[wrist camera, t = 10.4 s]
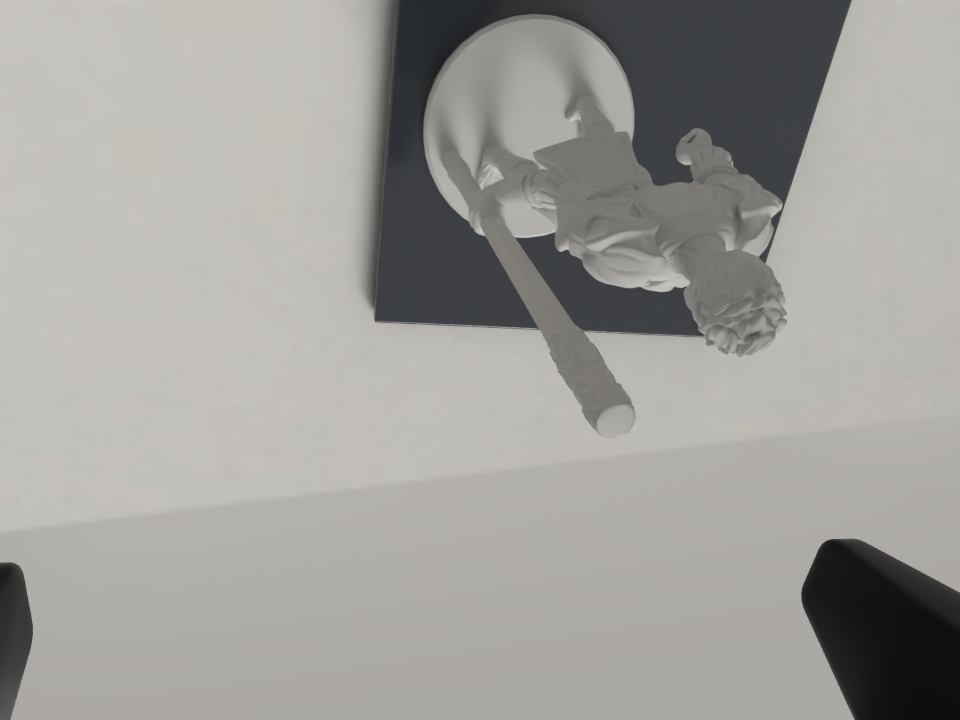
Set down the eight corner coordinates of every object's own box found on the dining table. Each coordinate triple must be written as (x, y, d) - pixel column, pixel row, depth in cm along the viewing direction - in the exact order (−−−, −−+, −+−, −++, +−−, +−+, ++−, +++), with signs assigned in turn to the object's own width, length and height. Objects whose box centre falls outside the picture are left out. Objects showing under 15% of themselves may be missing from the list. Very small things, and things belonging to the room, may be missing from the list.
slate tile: (731, 331, 22) (741, 340, 22) (373, 313, 20) (374, 323, 19) (863, -82, 17) (880, -83, 17) (407, -171, 15) (410, -176, 14)
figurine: (445, 255, 19) (585, 604, 8) (400, 38, 16) (522, 155, 6) (637, 211, 19) (999, 493, 9) (623, -8, 17) (1116, 24, 6)
